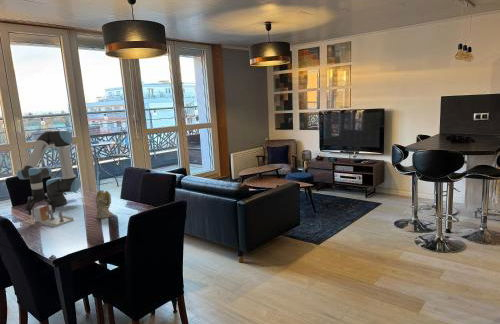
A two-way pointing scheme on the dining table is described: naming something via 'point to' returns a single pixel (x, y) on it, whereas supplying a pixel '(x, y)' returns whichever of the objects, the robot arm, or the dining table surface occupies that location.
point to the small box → (41, 213)
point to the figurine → (103, 204)
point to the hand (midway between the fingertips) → (41, 216)
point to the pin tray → (57, 220)
